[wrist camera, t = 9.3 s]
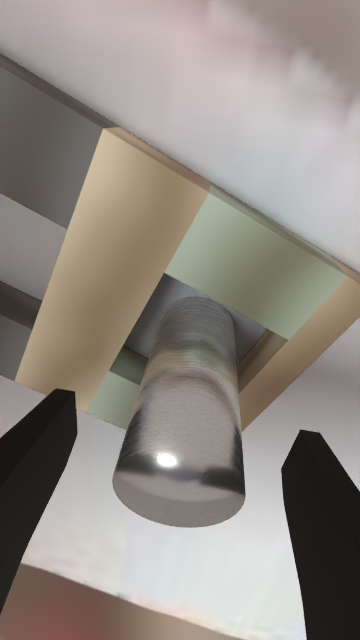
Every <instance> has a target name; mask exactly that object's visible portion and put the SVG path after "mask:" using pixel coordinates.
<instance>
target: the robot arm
mask: <svg viewBox="0 0 360 640" xmlns="http://www.w3.org/2000/svg"><path fill="white" fill-rule="evenodd" d="M76 437H77V416H76V398H75V391H70V390H64V389H58V388H56V389H54V390H53V391H52V392H51V393H50V394H49V395H48V396H47V397H45V398H44V399H43V400H42V401H41V402H40V403H39V404H38V405H37V406H36V407H35V408H34V409H33V410H31V411H30V412H29V413H28V414H27V415H26V416H25V417H24V418H23V419H22V420H20V421H19V422H18V423H17V424H16V425H15V426H14V427H12V428H11V429H10V430H9V431H8V432H7V433H5V434H4V435H3V436H2V437H1V438H0V614H1V611H2V609H3V606H4V603H5V601H6V598H7V595H8V593H9V590H10V588H11V585H12V583H13V580H14V577H15V575H16V572H17V569H18V567H19V565H20V562H21V560H22V557H23V555H24V552H25V550H26V548H27V546H28V543H29V541H30V539H31V537H32V535H33V533H34V531H35V528H36V526H37V524H38V522H39V520H40V518H41V516H42V514H43V512H44V510H45V508H46V506H47V504H48V502H49V500H50V498H51V496H52V494H53V492H54V490H55V488H56V485H57V483H58V481H59V479H60V477H61V475H62V473H63V471H64V469H65V467H66V465H67V462H68V459H69V456H70V454H71V451H72V448H73V445H74V442H75V440H76ZM281 473H282V488H283V499H284V506H285V512H286V517H287V522H288V528H289V533H290V538H291V543H292V548H293V553H294V558H295V563H296V568H297V573H298V579H299V584H300V590H301V596H302V602H303V610H304V619H305V628H306V637H307V640H360V491H359V490H358V488H357V487H356V486H355V484H354V483H353V481H352V480H351V478H350V477H349V475H348V474H347V472H346V471H345V470H344V468H343V467H342V465H341V464H340V462H339V461H338V459H337V458H336V456H335V455H334V453H333V452H332V450H331V449H330V447H329V446H328V444H327V443H326V441H325V440H324V438H323V437H322V435H321V434H320V433H318V432H312V431H306V430H300V431H299V433H298V436H297V438H296V440H295V442H294V444H293V446H292V448H291V450H290V452H289V454H288V456H287V458H286V460H285V462H284V464H283V466H282V468H281Z"/></svg>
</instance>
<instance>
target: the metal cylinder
mask: <svg viewBox="0 0 360 640" xmlns="http://www.w3.org/2000/svg"><path fill="white" fill-rule="evenodd" d="M113 488H114V491H115V493H116V495H117V496H118V498H119V499H120V501H121V502H122V503H123V504H124V505H125V506H126V507H128V508H129V509H130V510H132V511H133V512H135V513H136V514H138V515H140V516H142V517H144V518H146V519H149V520H151V521H154V522H157V523H161V524H165V525H169V526H176V527H204V526H210V525H214V524H218V523H221V522H223V521H225V520H228V519H229V518H231V517H233V516H234V515H235V514H236V513H237V512H238V511H239V510H240V509H241V507H242V506H243V504H244V501H245V480H244V466H243V451H242V436H241V421H240V407H239V392H238V377H237V362H236V348H235V333H234V324H233V320H232V318H231V316H230V314H229V313H228V312H227V311H226V309H225V308H224V307H222V306H221V305H220V304H218V303H217V302H215V301H213V300H210V299H207V298H203V297H187V298H183V299H180V300H178V301H176V302H174V303H172V304H171V305H169V306H168V307H167V308H166V309H165V311H164V312H163V314H162V316H161V318H160V321H159V324H158V327H157V331H156V334H155V337H154V341H153V344H152V348H151V351H150V354H149V358H148V361H147V364H146V368H145V371H144V374H143V378H142V381H141V384H140V388H139V391H138V394H137V398H136V401H135V404H134V408H133V411H132V414H131V418H130V421H129V424H128V428H127V431H126V434H125V438H124V441H123V444H122V448H121V451H120V454H119V458H118V461H117V464H116V468H115V471H114V475H113Z"/></svg>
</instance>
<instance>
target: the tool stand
mask: <svg viewBox="0 0 360 640" xmlns="http://www.w3.org/2000/svg"><path fill="white" fill-rule="evenodd" d="M0 193H1V194H3V195H5V196H7V197H9V198H10V199H12V200H14V201H16V202H18V203H20V204H22V205H23V206H25V207H27V208H29V209H31V210H33V211H35V212H36V213H38V214H40V215H42V216H44V217H46V218H48V219H49V220H51V221H53V222H55V223H57V224H59V225H61V226H63V227H64V228H66V229H68V230H67V233H66V236H65V238H64V241H63V244H62V247H61V250H60V253H59V255H58V258H57V261H56V264H55V267H54V270H53V273H52V275H51V278H50V281H49V284H48V287H47V290H46V292H45V295H44V298H43V301H42V302H41V301H39V300H37V299H35V298H33V297H31V296H29V295H27V294H25V293H23V292H21V291H19V290H17V289H15V288H13V287H11V286H8V285H6V284H4V283H2V282H0V375H2V376H4V377H6V378H8V379H11V380H13V381H15V382H17V383H20V384H22V385H24V386H27V387H29V388H31V389H33V390H36V391H38V392H40V393H43V394H45V395H47V396H48V395H49V394H50V393H51V392H52V391H53V390H54V389H56V388H58V389H64V390H70V391H75V398H76V408H77V409H79V410H81V411H84V412H86V413H88V414H90V415H93V416H95V417H97V418H100V419H102V420H104V421H106V422H109V423H111V424H113V425H116V426H118V427H120V428H122V429H125V430H127V428H128V424H129V421H130V418H131V414H132V411H133V408H134V404H135V401H136V398H137V394H138V391H139V388H140V384H141V381H142V378H143V374H144V371H145V368H146V364H147V361H148V359H147V358H145V357H143V356H141V355H139V354H137V353H135V352H133V351H131V350H129V349H127V348H125V347H122V346H123V344H124V343H125V341H126V339H127V337H128V336H129V334H130V332H131V330H132V329H133V327H134V325H135V323H136V321H137V320H138V318H139V316H140V314H141V313H142V311H143V309H144V307H145V306H146V304H147V302H148V300H149V298H150V297H151V295H152V293H153V291H154V290H155V288H156V286H157V284H158V283H159V281H160V279H161V277H162V275H163V274H164V273H166V274H167V275H169V276H171V277H173V278H175V279H177V280H179V281H180V282H182V283H184V284H186V285H188V286H190V287H191V288H193V289H195V290H197V291H199V292H201V293H202V294H204V295H206V296H208V297H210V298H212V299H214V300H215V301H217V302H219V303H221V304H223V305H225V306H226V307H228V308H230V309H232V310H234V311H236V312H238V313H239V314H241V315H243V316H245V317H247V318H249V319H250V320H252V321H254V322H256V323H258V324H260V325H262V326H263V327H265V328H267V329H268V330H267V331H266V332H265V333H264V335H263V336H262V337H261V338H260V339H259V340H258V342H257V343H256V344H255V345H254V346H253V347H252V349H251V350H250V351H249V352H248V353H247V354H246V356H245V357H244V358H243V359H242V360H241V361H240V363H239V364H238V365H237V377H238V392H239V407H240V421H241V432H242V431H243V430H244V429H245V428H246V427H247V426H248V425H249V424H250V423H251V422H252V421H253V420H254V419H255V418H256V417H257V416H258V415H259V414H260V413H261V412H262V411H263V410H264V409H265V408H266V407H268V406H269V405H270V404H271V403H272V402H273V401H274V400H275V399H276V398H277V397H278V396H279V395H280V394H281V393H282V392H283V391H284V390H285V389H286V388H287V387H288V386H289V385H290V384H291V383H292V382H293V381H294V380H295V379H296V378H297V377H298V376H299V375H300V374H301V373H302V372H303V371H304V370H306V369H307V368H308V367H309V366H310V365H311V364H312V363H313V362H314V361H315V360H316V359H317V358H318V357H319V356H320V355H321V354H322V353H323V352H324V351H325V350H326V349H327V348H328V347H329V346H330V345H331V344H332V343H333V342H334V341H335V340H336V339H337V338H338V337H339V336H340V335H341V334H342V333H344V332H345V331H346V330H347V329H348V328H349V327H350V326H351V325H352V324H353V323H354V322H355V321H356V320H357V319H358V318H359V317H360V274H359V273H358V272H356V271H354V270H353V269H351V268H350V267H348V266H346V265H345V264H343V263H341V262H340V261H338V260H336V259H335V258H333V257H332V256H330V255H328V254H327V253H325V252H323V251H322V250H320V249H318V248H317V247H315V246H314V245H312V244H310V243H309V242H307V241H305V240H304V239H302V238H301V237H299V236H297V235H296V234H294V233H292V232H291V231H289V230H287V229H286V228H284V227H283V226H281V225H279V224H278V223H276V222H274V221H273V220H271V219H270V218H268V217H266V216H265V215H263V214H261V213H260V212H258V211H256V210H255V209H253V208H252V207H250V206H248V205H247V204H245V203H243V202H242V201H240V200H238V199H237V198H235V197H234V196H232V195H230V194H229V193H227V192H225V191H224V190H222V189H221V188H219V187H217V186H216V185H214V184H212V183H211V182H209V181H207V180H206V179H204V178H203V177H201V176H199V175H198V174H196V173H194V172H193V171H191V170H190V169H188V168H186V167H185V166H183V165H181V164H180V163H178V162H176V161H175V160H173V159H172V158H170V157H168V156H167V155H165V154H163V153H162V152H160V151H158V150H157V149H155V148H154V147H152V146H150V145H149V144H147V143H145V142H144V141H142V140H141V139H139V138H137V137H136V136H134V135H132V134H131V133H129V132H127V131H126V130H124V129H123V128H121V127H119V126H118V125H116V124H114V123H113V122H111V121H110V120H108V119H106V118H105V117H103V116H101V115H100V114H98V113H96V112H95V111H93V110H92V109H90V108H88V107H87V106H85V105H83V104H82V103H80V102H78V101H77V100H75V99H74V98H72V97H70V96H69V95H67V94H65V93H64V92H62V91H61V90H59V89H57V88H56V87H54V86H52V85H51V84H49V83H47V82H46V81H44V80H43V79H41V78H39V77H38V76H36V75H34V74H33V73H31V72H30V71H28V70H26V69H25V68H23V67H21V66H20V65H18V64H16V63H15V62H13V61H12V60H10V59H8V58H7V57H5V56H3V55H2V54H0Z"/></svg>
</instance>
